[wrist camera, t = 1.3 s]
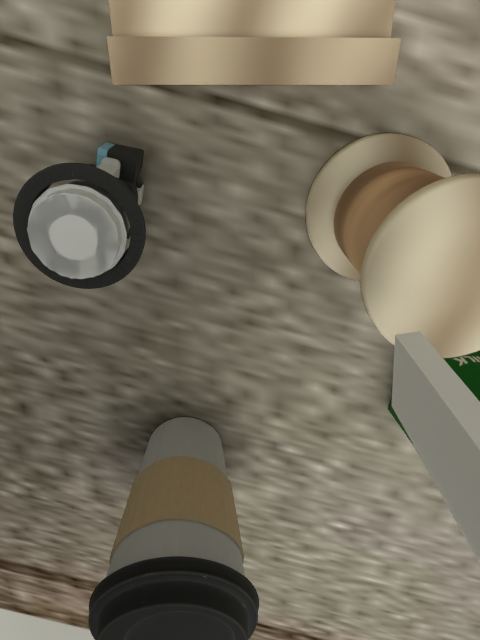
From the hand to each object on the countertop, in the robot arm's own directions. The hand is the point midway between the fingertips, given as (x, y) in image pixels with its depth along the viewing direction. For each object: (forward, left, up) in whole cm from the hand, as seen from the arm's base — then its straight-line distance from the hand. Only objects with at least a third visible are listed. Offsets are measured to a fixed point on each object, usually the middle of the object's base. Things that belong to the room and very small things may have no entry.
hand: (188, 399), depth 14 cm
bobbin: (+11, +2, -16) cm, 20 cm away
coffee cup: (-2, -17, -17) cm, 24 cm away
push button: (-5, +3, -17) cm, 18 cm away
